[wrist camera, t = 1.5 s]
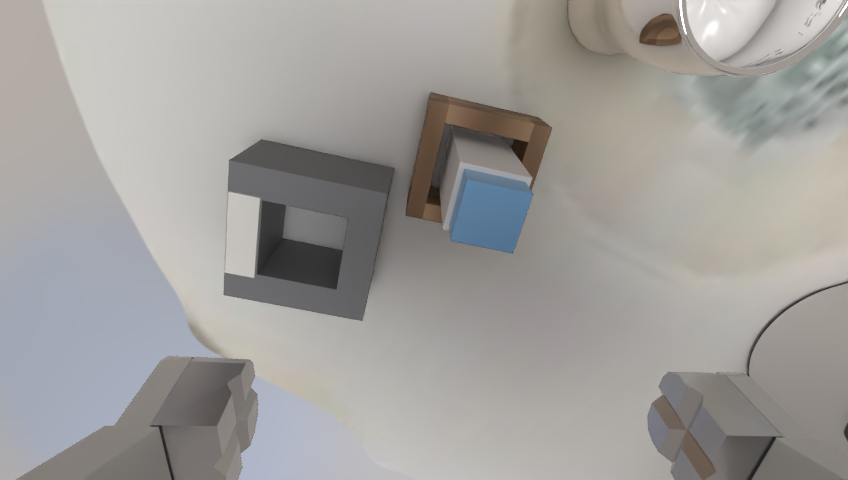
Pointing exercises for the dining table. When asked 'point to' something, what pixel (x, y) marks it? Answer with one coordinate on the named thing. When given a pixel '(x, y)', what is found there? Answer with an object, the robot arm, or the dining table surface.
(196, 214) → the dining table surface
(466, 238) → the plug
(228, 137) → the dining table surface
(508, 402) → the dining table surface
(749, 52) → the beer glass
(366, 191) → the port
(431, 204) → the holster
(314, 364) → the dining table surface
